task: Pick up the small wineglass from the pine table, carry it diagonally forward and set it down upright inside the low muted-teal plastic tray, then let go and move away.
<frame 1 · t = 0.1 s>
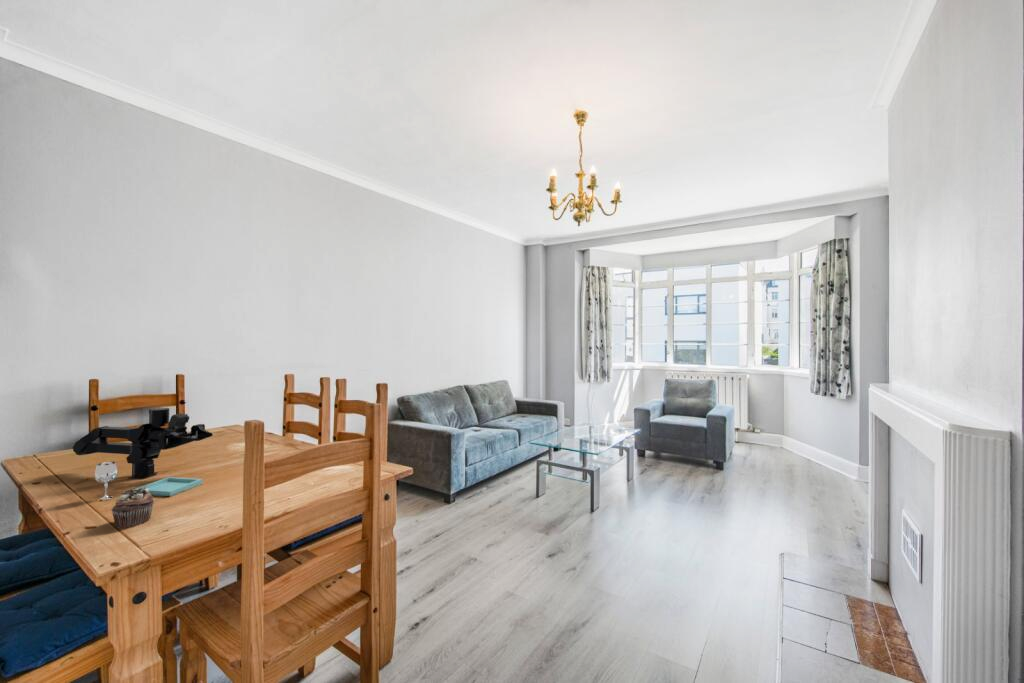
hand: (202, 437, 170), 17 cm above the table, tool horizontal, fingers open, 9 cm apart
cupcake: (132, 522, 131), on the table
tray: (169, 488, 159), on the table
wineglass: (105, 499, 148), on the table
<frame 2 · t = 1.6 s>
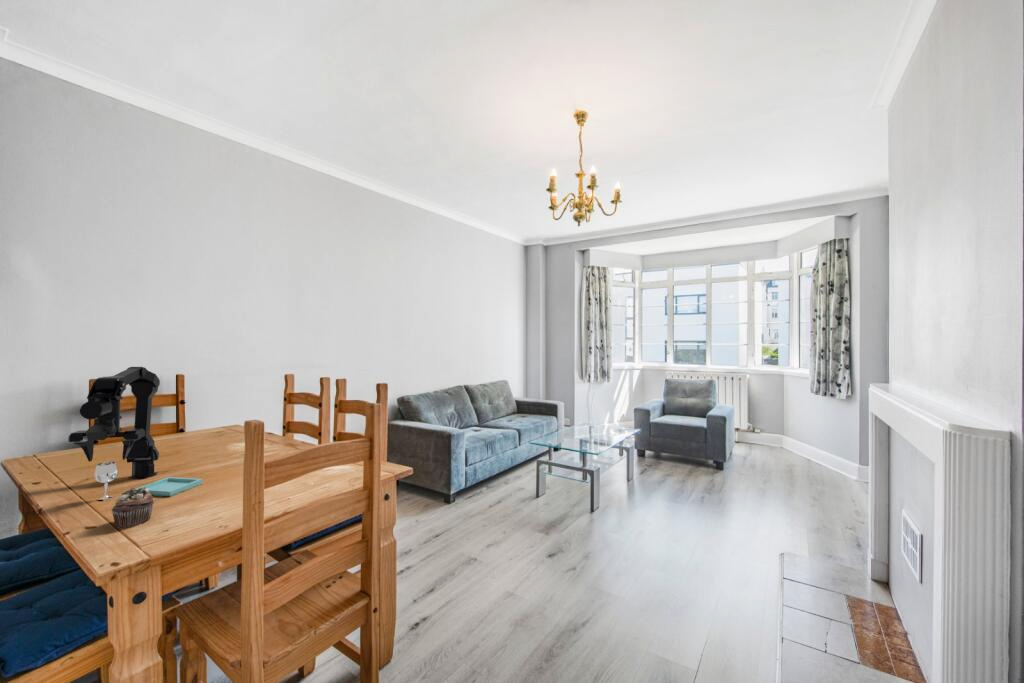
hand: (107, 460, 148), 13 cm above the table, tool pointing down, fingers open, 9 cm apart
nothing on the table moved.
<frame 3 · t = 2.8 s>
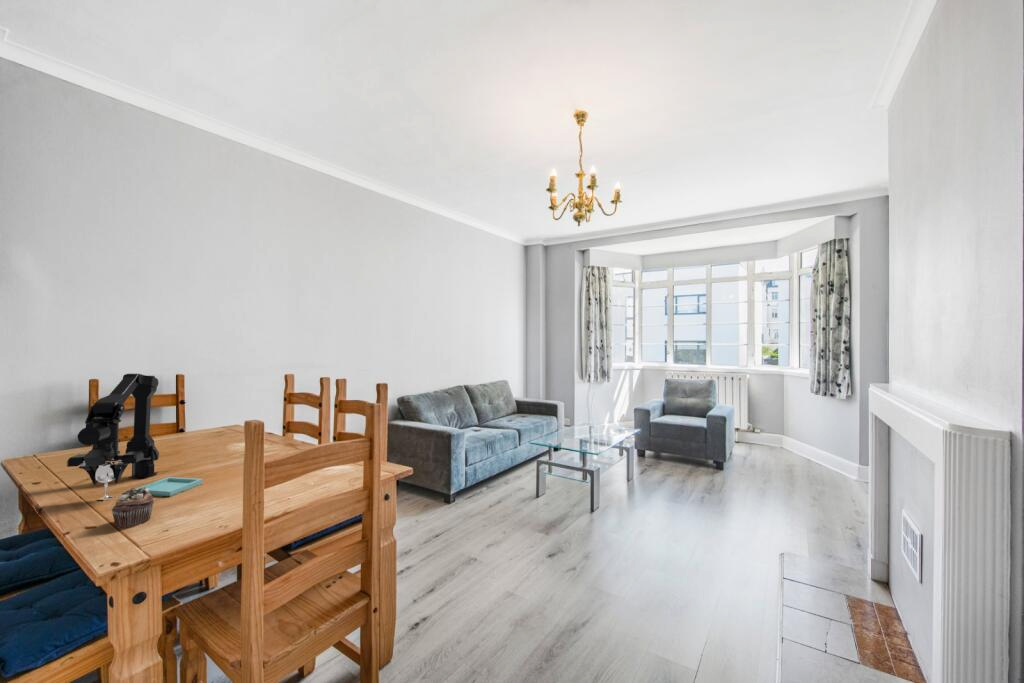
hand: (106, 484, 148), 5 cm above the table, tool pointing down, fingers closed on wineglass, 5 cm apart
wineglass: (105, 499, 148), on the table, touching gripper
everything else where it was.
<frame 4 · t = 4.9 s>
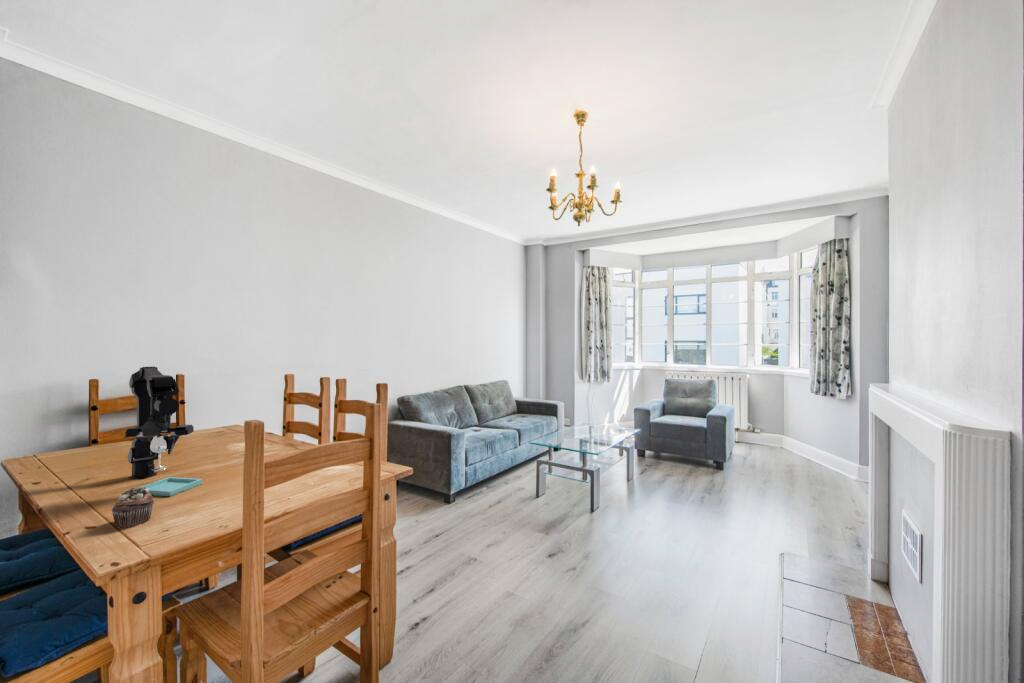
hand: (159, 454, 157), 13 cm above the table, tool pointing down, fingers closed on wineglass, 5 cm apart
wineglass: (159, 469, 157), point 8 cm above the table, touching gripper
everything else where it was.
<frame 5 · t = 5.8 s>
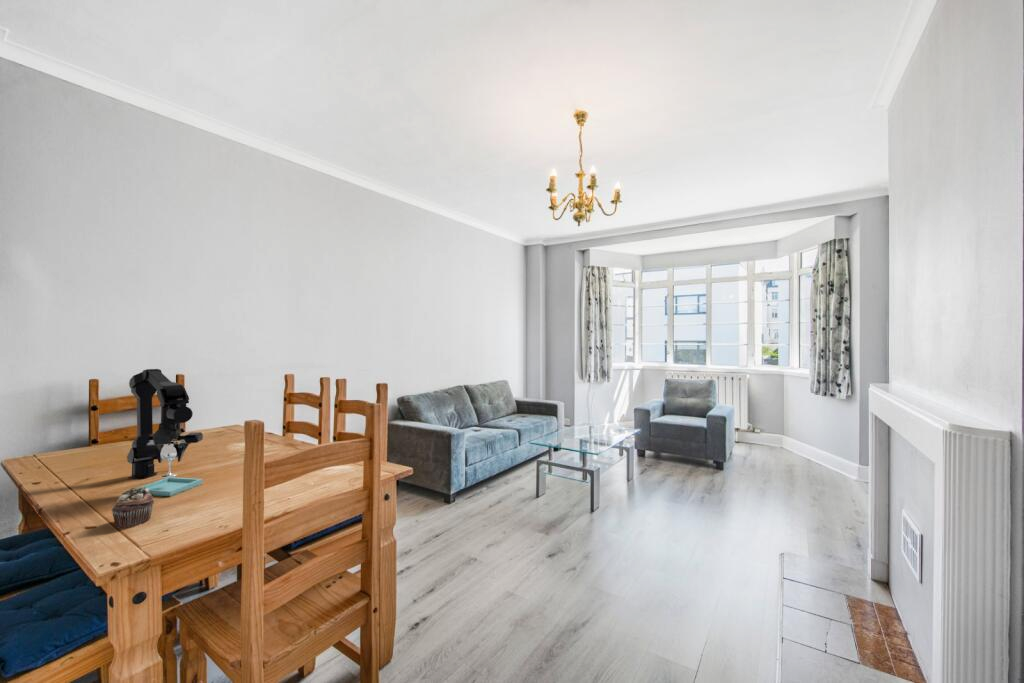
hand: (169, 462, 159), 10 cm above the table, tool pointing down, fingers closed on wineglass, 5 cm apart
wineglass: (169, 476, 159), point 5 cm above the table, touching gripper
everything else where it was.
when the fingers open (6 cm above the table, at t = 6.8 s): wineglass stays where it is, resting on tray.
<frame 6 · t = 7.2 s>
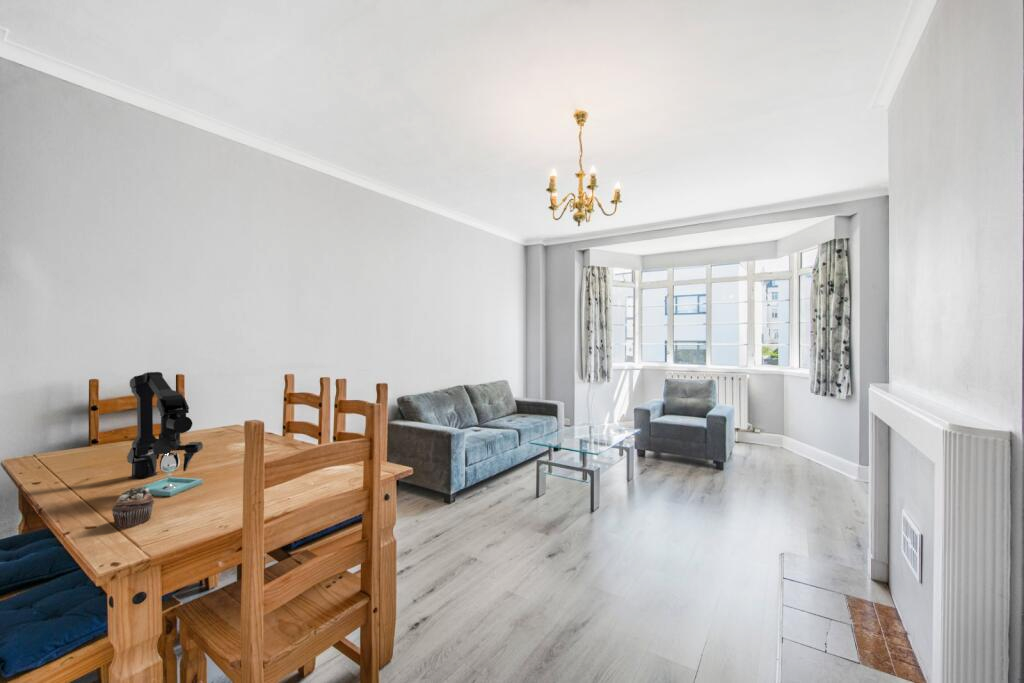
hand: (169, 471, 159), 6 cm above the table, tool pointing down, fingers open, 9 cm apart
wineglass: (169, 487, 159), resting on tray
everything else where it was.
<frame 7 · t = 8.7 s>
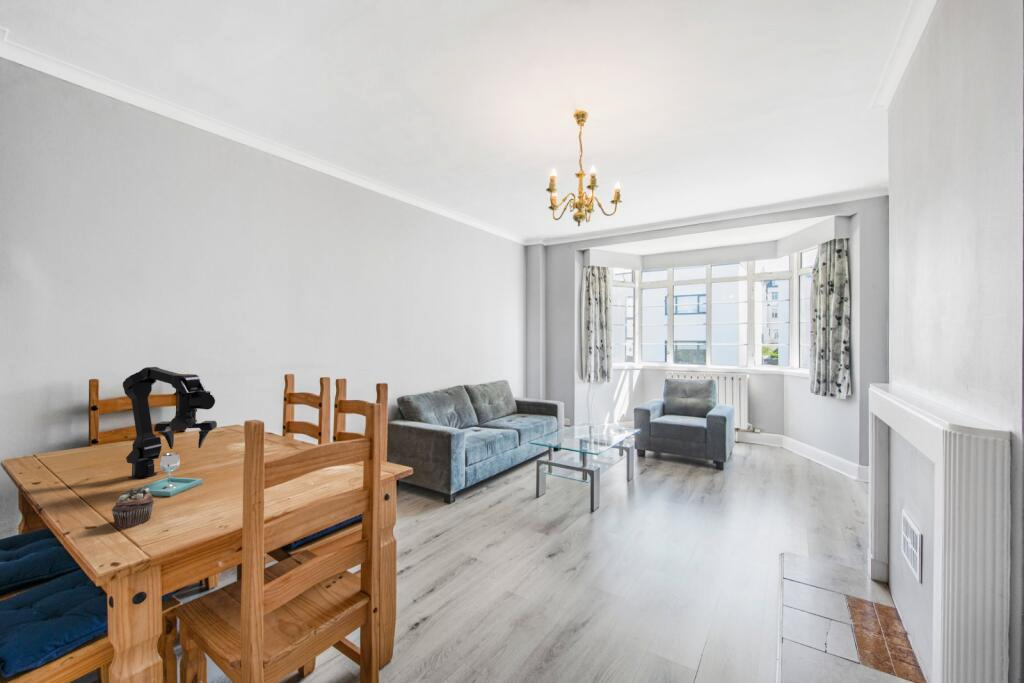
hand: (185, 448, 167), 13 cm above the table, tool pointing down, fingers open, 9 cm apart
nothing on the table moved.
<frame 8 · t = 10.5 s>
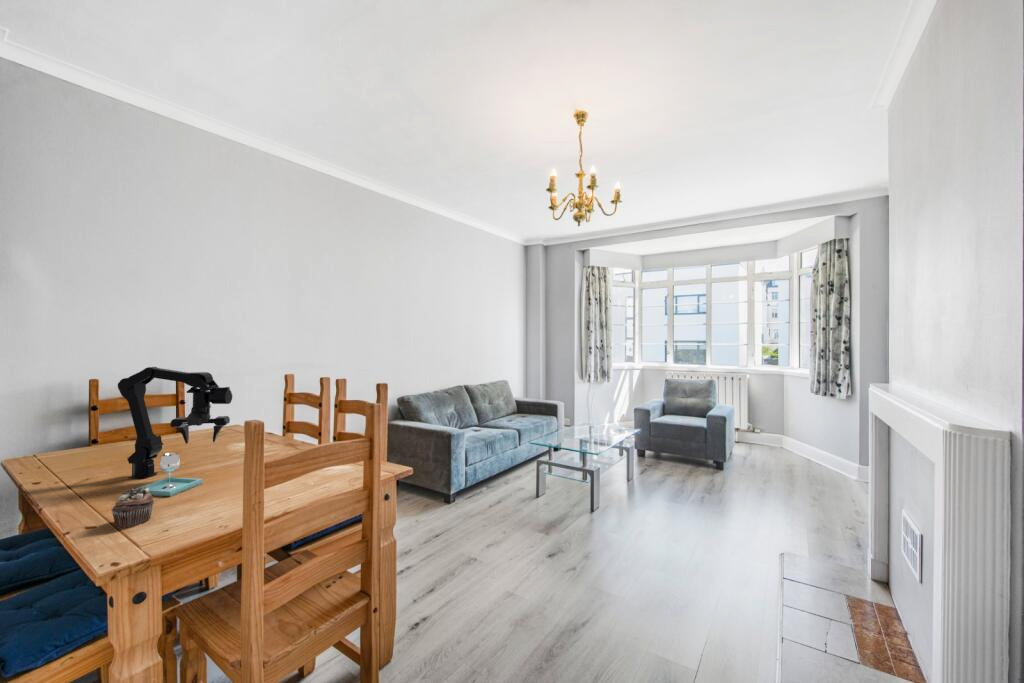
hand: (200, 442, 175), 13 cm above the table, tool pointing down, fingers open, 9 cm apart
nothing on the table moved.
at the end: wineglass inside the target area on the tray (0.0 cm from its centre), point 0.4 cm above the tray's base; wineglass tilted 0°; the gripper is holding nothing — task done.
